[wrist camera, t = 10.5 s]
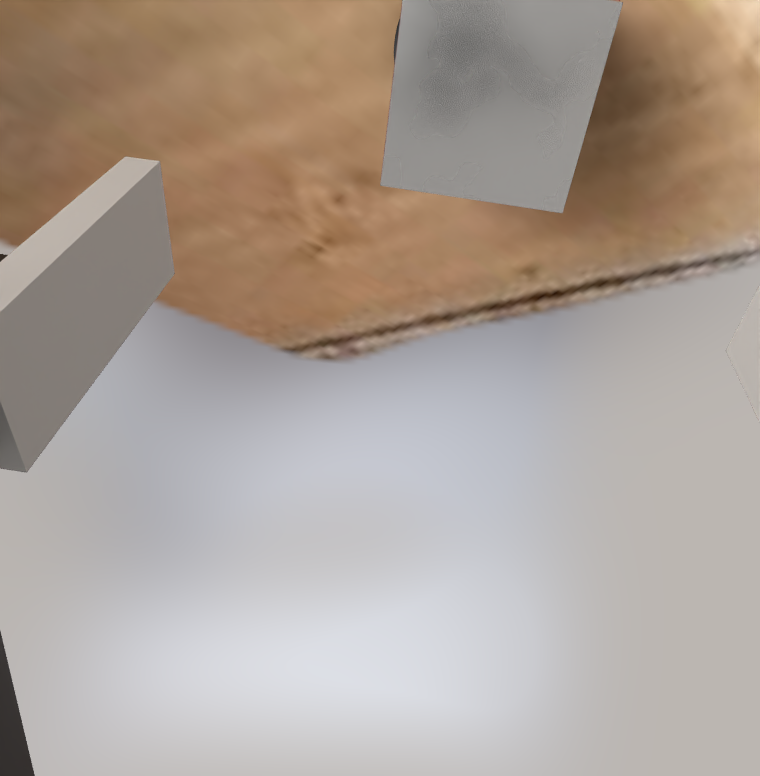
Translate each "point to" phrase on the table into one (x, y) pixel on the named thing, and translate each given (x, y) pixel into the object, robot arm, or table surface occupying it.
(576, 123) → the red-striped grey block
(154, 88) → the table surface
